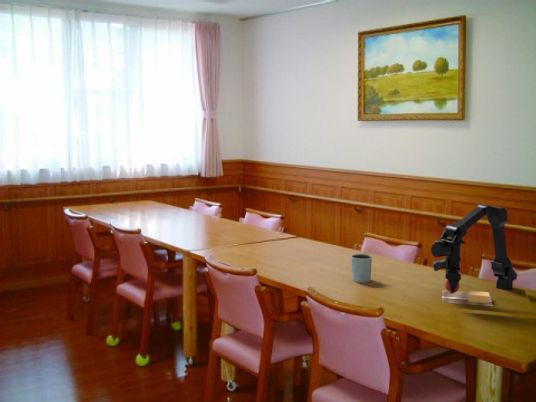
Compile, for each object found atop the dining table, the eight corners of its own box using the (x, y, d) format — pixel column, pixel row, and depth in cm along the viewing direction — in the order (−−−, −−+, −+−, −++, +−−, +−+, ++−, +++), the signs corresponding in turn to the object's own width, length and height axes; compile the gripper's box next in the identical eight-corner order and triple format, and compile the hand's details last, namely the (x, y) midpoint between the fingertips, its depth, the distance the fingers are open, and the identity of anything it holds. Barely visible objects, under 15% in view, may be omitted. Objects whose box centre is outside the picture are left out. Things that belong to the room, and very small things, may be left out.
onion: (456, 291, 255) (457, 273, 254) (461, 295, 249) (461, 277, 248) (443, 291, 255) (443, 274, 254) (447, 295, 249) (448, 277, 248)
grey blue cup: (371, 283, 280) (371, 259, 278) (349, 282, 282) (350, 258, 280) (371, 278, 289) (372, 254, 288) (351, 277, 291) (351, 253, 290)
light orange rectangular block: (488, 299, 250) (488, 292, 250) (488, 303, 245) (489, 296, 244) (468, 297, 253) (469, 290, 252) (468, 301, 247) (468, 294, 247)
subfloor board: (489, 296, 258) (489, 293, 258) (492, 309, 241) (492, 306, 241) (442, 293, 264) (442, 289, 264) (441, 305, 247) (441, 301, 247)
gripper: (434, 248, 261) (433, 282, 263) (433, 258, 243) (432, 295, 245) (460, 250, 258) (459, 284, 260) (461, 260, 240) (460, 297, 242)
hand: (452, 290), depth 252 cm, fingers closed on onion, 6 cm apart
